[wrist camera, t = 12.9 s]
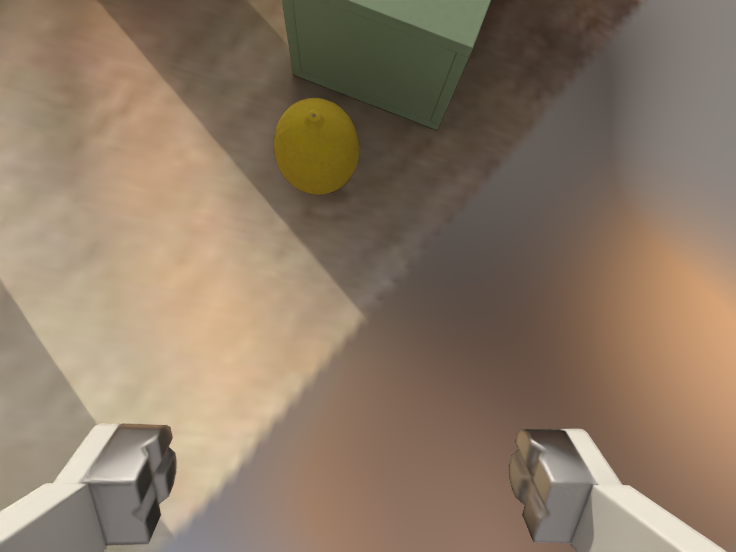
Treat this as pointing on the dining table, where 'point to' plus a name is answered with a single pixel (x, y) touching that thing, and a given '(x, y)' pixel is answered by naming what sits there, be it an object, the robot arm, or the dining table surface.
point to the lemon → (316, 146)
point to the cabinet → (386, 50)
